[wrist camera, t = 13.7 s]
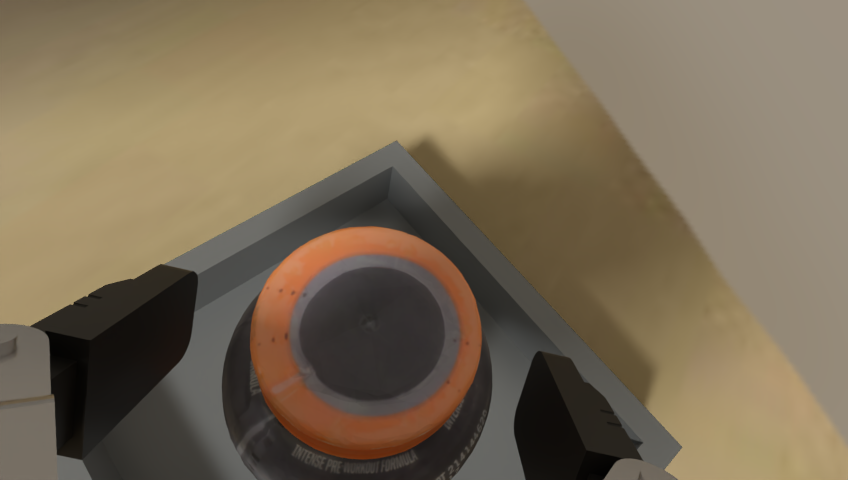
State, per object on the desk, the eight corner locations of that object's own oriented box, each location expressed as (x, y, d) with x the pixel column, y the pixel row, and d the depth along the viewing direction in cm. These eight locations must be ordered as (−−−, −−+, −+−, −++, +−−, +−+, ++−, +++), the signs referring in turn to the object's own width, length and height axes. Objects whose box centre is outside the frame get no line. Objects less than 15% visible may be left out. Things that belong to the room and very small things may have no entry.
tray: (44, 385, 18) (-15, 359, 15) (389, 186, 25) (396, 140, 22) (284, 860, 13) (269, 958, 10) (630, 457, 20) (682, 447, 17)
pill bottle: (326, 319, 20) (318, 129, 10) (458, 391, 19) (584, 264, 10) (232, 463, 17) (92, 394, 7) (384, 554, 16) (458, 612, 7)
